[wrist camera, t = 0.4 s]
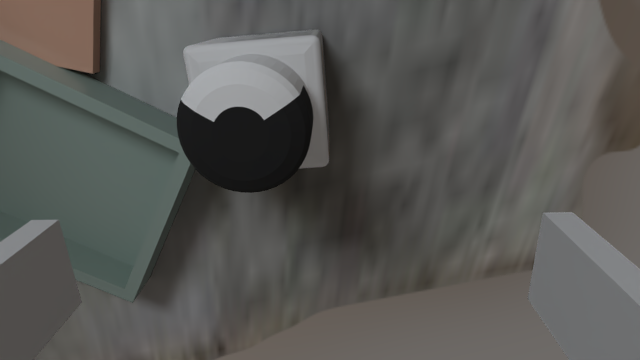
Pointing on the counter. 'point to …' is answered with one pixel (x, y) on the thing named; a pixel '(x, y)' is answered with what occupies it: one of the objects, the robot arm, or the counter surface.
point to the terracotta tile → (55, 31)
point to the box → (88, 169)
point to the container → (255, 108)
